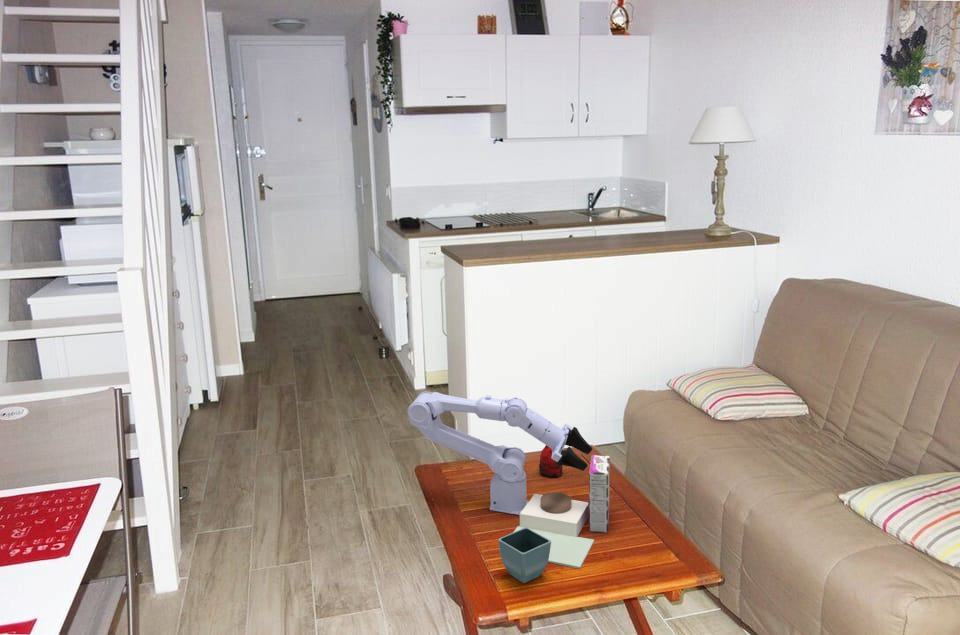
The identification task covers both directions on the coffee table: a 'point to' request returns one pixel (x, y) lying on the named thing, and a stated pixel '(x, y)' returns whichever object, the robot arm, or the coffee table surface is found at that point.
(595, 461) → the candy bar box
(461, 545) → the coffee table surface
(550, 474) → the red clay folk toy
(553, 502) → the coaster
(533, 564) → the flower pot
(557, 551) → the placemat
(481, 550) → the coffee table surface
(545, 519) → the riser
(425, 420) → the robot arm
